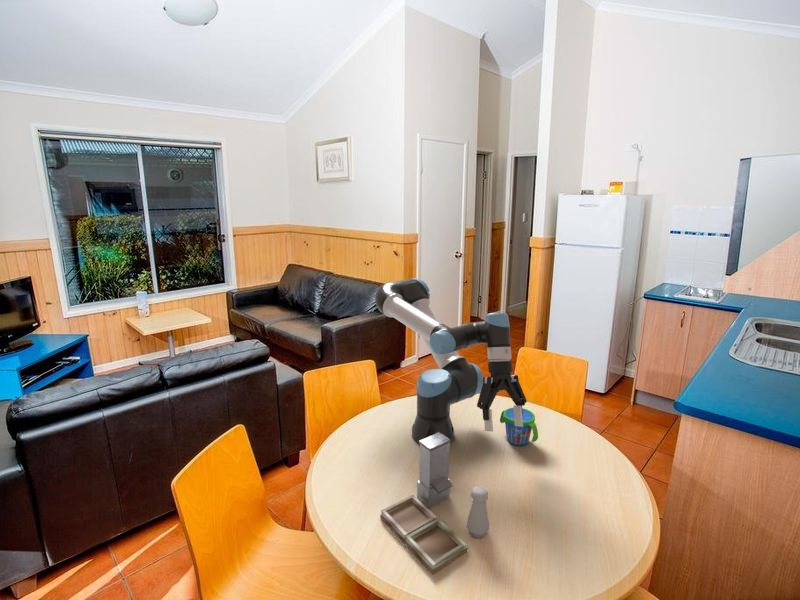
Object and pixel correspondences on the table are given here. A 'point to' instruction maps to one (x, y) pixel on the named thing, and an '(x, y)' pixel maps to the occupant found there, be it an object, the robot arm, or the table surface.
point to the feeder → (434, 470)
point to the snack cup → (517, 433)
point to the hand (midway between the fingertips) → (504, 428)
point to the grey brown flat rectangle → (423, 533)
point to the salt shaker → (478, 513)
